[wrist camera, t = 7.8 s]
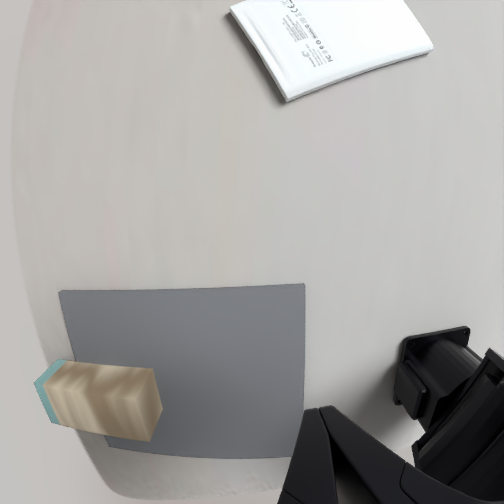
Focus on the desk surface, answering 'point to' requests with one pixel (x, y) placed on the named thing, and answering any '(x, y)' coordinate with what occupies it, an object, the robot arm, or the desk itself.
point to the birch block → (101, 398)
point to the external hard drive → (328, 39)
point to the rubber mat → (203, 363)
